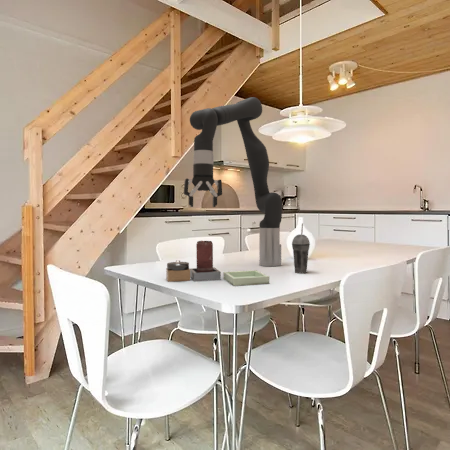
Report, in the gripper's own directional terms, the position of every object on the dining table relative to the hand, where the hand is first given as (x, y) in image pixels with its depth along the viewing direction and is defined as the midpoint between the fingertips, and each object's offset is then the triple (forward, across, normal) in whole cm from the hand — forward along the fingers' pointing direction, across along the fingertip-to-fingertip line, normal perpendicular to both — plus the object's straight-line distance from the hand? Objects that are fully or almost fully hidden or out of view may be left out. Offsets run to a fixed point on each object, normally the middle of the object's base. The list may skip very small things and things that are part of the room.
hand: (202, 207), depth 135 cm
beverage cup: (+26, -41, 0) cm, 49 cm away
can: (+27, -1, 0) cm, 27 cm away
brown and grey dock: (+27, +4, +1) cm, 27 cm away
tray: (+27, -14, +10) cm, 32 cm away
